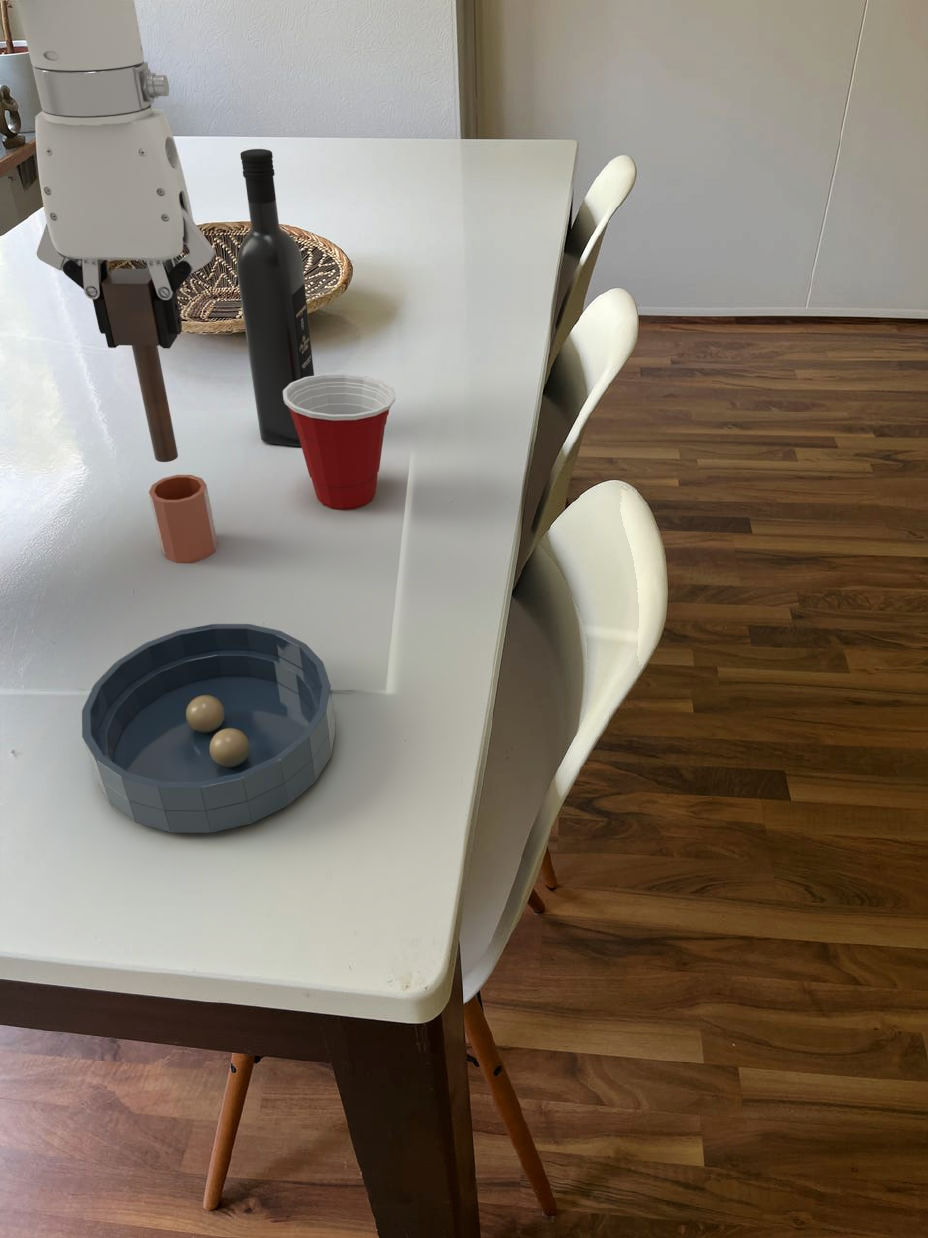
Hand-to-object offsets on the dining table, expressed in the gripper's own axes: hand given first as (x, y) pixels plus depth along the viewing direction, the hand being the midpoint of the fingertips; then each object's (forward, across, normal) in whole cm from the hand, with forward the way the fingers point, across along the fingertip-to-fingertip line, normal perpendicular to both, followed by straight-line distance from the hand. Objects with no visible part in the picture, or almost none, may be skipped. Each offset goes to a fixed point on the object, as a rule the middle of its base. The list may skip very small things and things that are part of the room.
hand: (143, 339), depth 81 cm
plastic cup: (+21, -14, -10) cm, 28 cm away
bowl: (+21, -8, +26) cm, 34 cm away
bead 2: (+19, -10, +28) cm, 35 cm away
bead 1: (+19, -8, +24) cm, 32 cm away
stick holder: (+21, 0, 0) cm, 21 cm away
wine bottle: (+21, -6, -24) cm, 33 cm away
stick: (+11, 0, 0) cm, 11 cm away
